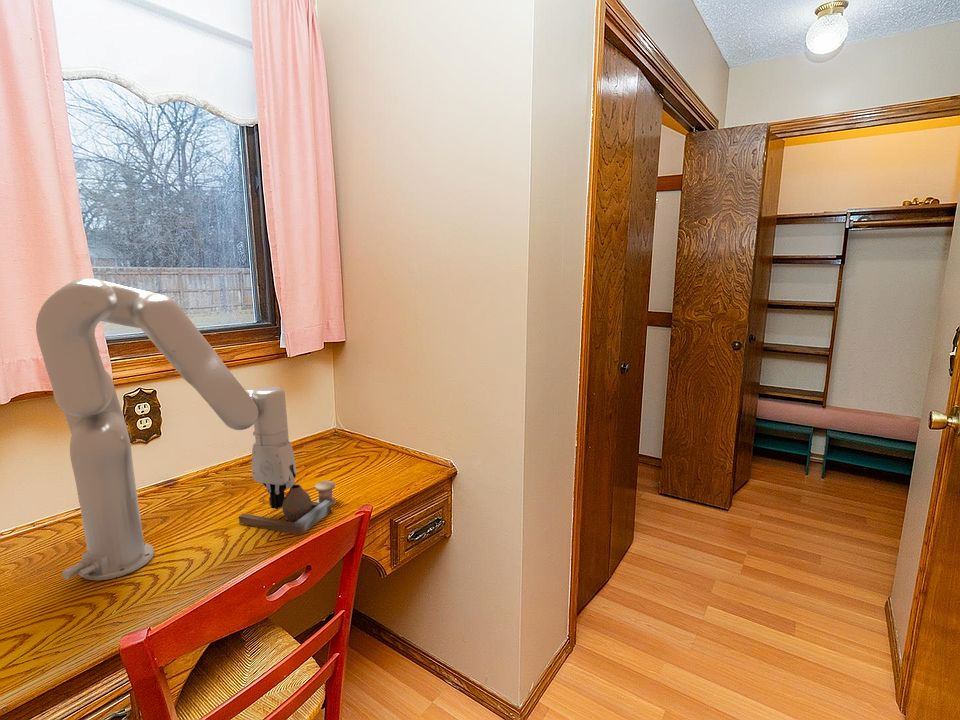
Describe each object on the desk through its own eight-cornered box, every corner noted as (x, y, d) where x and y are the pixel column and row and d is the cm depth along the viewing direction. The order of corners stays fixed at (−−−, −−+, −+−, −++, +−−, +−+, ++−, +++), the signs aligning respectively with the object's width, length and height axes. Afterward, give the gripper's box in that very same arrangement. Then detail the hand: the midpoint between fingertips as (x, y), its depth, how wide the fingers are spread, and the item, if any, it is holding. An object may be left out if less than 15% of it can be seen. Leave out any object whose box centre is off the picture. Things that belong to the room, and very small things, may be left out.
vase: (277, 523, 121) (274, 489, 119) (297, 510, 127) (294, 478, 126) (299, 528, 118) (296, 494, 117) (318, 515, 125) (316, 483, 123)
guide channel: (300, 535, 115) (300, 523, 115) (239, 523, 121) (238, 512, 120) (331, 511, 127) (330, 500, 126) (273, 502, 132) (272, 491, 131)
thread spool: (329, 508, 128) (328, 489, 127) (312, 506, 129) (311, 487, 128) (338, 500, 133) (338, 481, 132) (322, 497, 134) (321, 479, 133)
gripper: (236, 439, 119) (243, 509, 123) (286, 445, 115) (293, 517, 118) (258, 429, 126) (264, 496, 130) (307, 435, 122) (312, 503, 125)
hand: (278, 506), depth 124 cm, fingers closed
